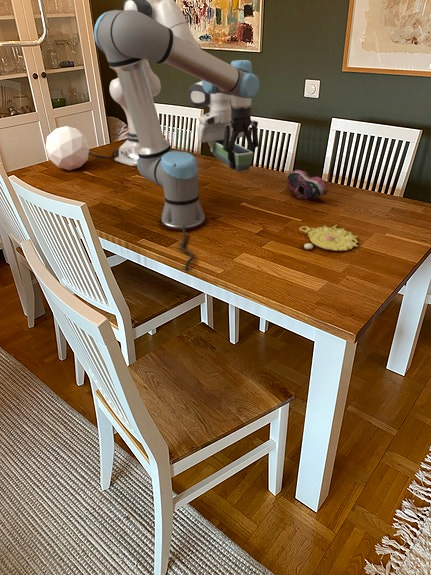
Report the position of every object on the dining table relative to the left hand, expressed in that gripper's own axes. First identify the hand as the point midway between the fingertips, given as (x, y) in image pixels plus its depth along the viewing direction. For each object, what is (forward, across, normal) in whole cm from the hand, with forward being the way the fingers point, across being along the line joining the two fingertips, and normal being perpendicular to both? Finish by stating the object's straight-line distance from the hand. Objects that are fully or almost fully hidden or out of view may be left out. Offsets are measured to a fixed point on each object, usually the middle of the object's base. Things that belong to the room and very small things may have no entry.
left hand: (221, 150), depth 192 cm
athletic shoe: (+11, -17, +38) cm, 43 cm away
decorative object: (+11, -4, +74) cm, 75 cm away
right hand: (+2, 0, +19) cm, 19 cm away
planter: (+3, 0, +10) cm, 10 cm away
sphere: (+11, +59, -44) cm, 75 cm away
